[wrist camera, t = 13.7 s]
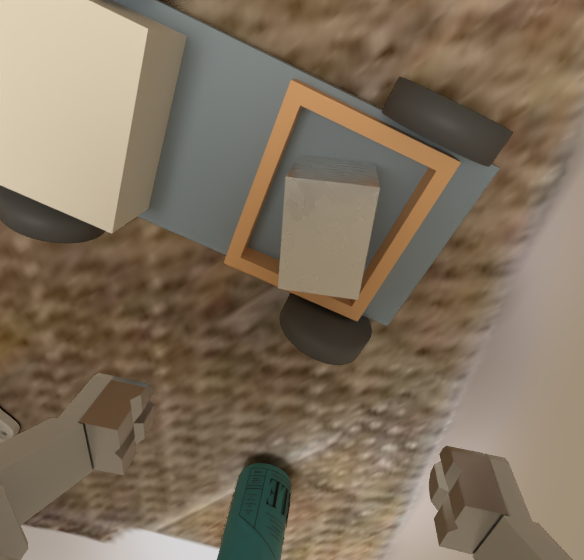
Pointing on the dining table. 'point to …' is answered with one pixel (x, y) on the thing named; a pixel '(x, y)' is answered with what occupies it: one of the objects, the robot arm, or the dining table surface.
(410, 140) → the chassis
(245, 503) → the beverage bottle
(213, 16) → the dining table surface
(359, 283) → the block
